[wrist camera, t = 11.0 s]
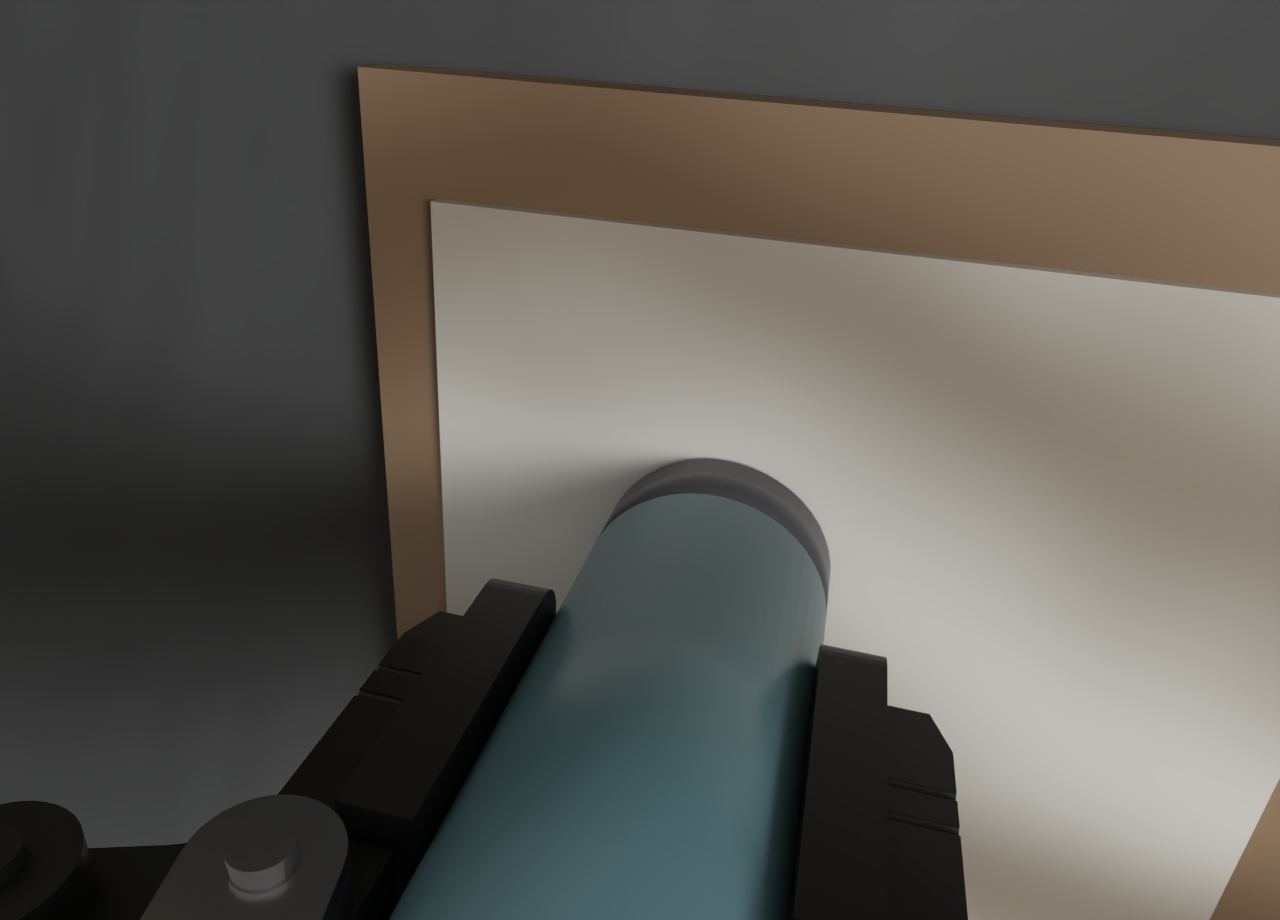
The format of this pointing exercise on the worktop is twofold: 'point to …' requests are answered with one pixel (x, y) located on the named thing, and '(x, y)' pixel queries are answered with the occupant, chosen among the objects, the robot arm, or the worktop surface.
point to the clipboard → (881, 423)
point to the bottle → (652, 722)
